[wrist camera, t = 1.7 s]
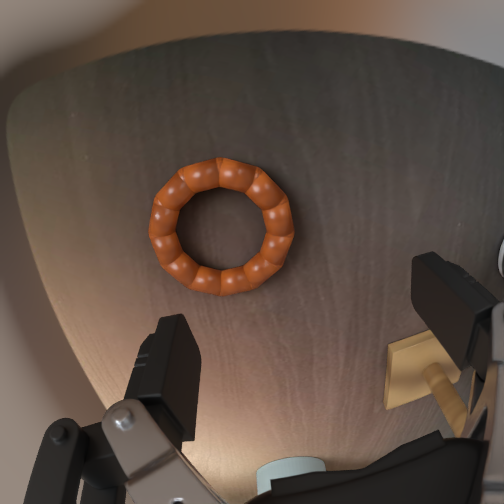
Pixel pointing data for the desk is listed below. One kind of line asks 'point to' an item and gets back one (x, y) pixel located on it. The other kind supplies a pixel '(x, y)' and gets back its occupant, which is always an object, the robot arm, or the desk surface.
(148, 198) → the desk surface
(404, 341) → the stand
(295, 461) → the mug
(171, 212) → the ring
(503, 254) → the pill bottle
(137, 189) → the desk surface
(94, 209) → the desk surface
